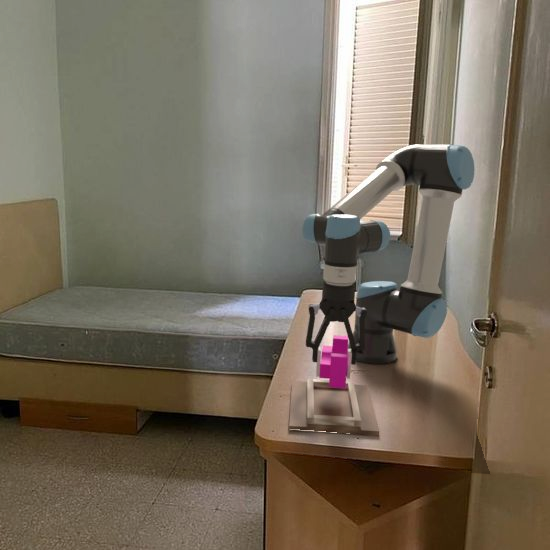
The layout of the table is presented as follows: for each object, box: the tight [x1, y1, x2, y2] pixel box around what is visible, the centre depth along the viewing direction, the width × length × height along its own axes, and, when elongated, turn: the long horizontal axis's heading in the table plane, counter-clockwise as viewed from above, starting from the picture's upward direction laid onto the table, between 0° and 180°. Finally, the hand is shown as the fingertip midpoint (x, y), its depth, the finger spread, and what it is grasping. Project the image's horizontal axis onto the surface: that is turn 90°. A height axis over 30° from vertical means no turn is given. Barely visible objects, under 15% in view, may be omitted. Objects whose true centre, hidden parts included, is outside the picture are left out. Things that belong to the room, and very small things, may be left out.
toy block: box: [319, 334, 349, 389], centre depth 129 cm, size 15×6×8 cm, turn 172°
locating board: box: [288, 378, 380, 436], centre depth 131 cm, size 20×24×3 cm
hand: (332, 375), depth 129 cm, fingers closed on toy block, 6 cm apart
